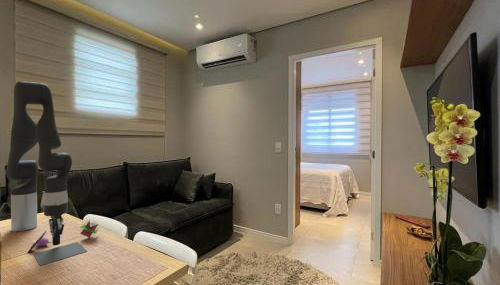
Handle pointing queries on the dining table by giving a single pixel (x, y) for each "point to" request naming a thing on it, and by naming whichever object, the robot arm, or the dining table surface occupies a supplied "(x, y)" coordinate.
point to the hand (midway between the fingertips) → (56, 244)
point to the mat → (59, 253)
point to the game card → (40, 242)
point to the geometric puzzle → (89, 228)
